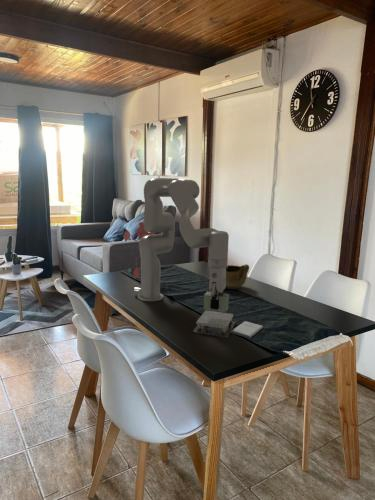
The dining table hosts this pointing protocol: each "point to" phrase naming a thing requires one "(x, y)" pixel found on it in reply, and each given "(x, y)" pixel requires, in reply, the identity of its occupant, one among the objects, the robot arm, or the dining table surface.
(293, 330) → the dining table surface
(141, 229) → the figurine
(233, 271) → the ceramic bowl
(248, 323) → the external hard drive
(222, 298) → the pale green block
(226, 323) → the chassis
